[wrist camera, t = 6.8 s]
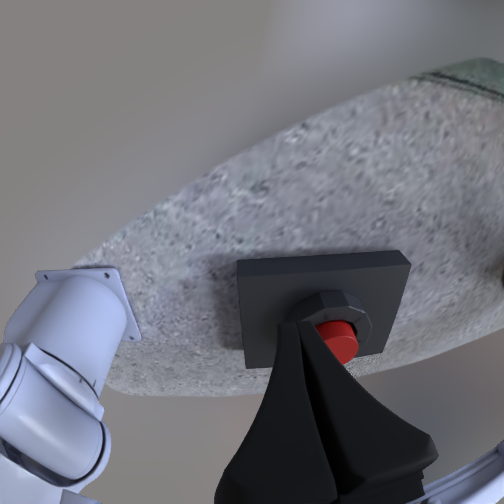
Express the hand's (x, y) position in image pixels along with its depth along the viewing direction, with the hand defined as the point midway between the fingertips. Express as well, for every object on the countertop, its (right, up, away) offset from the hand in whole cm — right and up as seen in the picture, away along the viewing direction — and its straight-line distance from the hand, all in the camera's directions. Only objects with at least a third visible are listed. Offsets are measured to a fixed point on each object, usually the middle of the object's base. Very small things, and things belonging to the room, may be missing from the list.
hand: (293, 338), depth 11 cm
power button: (+4, -3, +9) cm, 10 cm away
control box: (+4, -1, +12) cm, 13 cm away
